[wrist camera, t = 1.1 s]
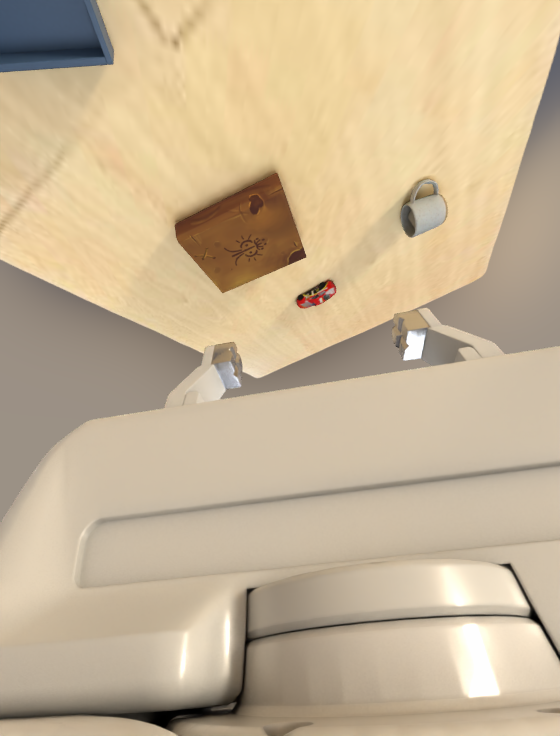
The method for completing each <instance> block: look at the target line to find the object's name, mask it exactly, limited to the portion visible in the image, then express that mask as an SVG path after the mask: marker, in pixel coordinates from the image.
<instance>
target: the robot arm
mask: <svg viewBox="0 0 560 736" xmlns="http://www.w3.org/2000/svg"><path fill="white" fill-rule="evenodd" d="M393 322H394V323H395V326H394V327H393V329H392V338H393V342H394V344H395V346H396V347H398V348H399V353H400V355H401V357H402V359H403V360H411V359H419V358H421V359H422V360H424V361H425V362H427V363H429V364H430V365H432V366H430V367H424V368H418V369H411V370H405V371H399V372H393V373H386V374H380V375H373V376H367V377H361V378H354V379H348V380H343V381H335V382H330V383H323V384H317V385H311V386H304V387H298V388H292V389H285V390H279V391H273V392H266V393H259V394H253V395H247V396H241V397H235V398H228V399H221V400H219V399H220V398H221V396H222V394H223V393H224V392H225V390H226V389H231V388H236V387H241V380H242V377H241V372H242V361H241V357H240V355H239V354H238V353H237V346H236V344H235V343H234V342H230V343H224V344H217V345H211V346H207V347H205V351H204V355H203V359H202V363H201V366H200V367H198V368H196V369H195V370H194V371H193V372H192V373H191V374H190V375H189V376H188V377H187V378H186V379H185V380H184V381H183V382H181V384H180V385H178V386H177V387H176V388H175V389H174V390H173V391H172V392H171V393H170V394H169V395H168V397H167V401H166V403H165V407H164V409H159V410H152V411H146V412H140V413H133V414H127V415H121V416H114V417H107V418H99V419H94V420H90V421H87V422H85V423H84V424H82V425H81V426H80V427H78V428H76V429H75V430H74V431H72V432H71V433H70V434H69V435H67V436H66V437H64V438H63V439H62V440H61V441H59V442H58V443H57V444H55V445H54V446H53V447H52V448H51V449H50V450H49V451H48V452H47V454H46V455H45V456H44V458H43V459H42V460H41V462H40V463H39V465H38V466H37V467H36V469H35V470H34V472H33V473H32V475H31V476H30V478H29V479H28V480H27V482H26V484H25V485H24V487H23V488H22V490H21V491H20V493H19V494H18V496H17V498H16V499H15V501H14V502H13V504H12V505H11V507H10V508H9V510H8V511H7V513H6V515H5V516H4V518H3V520H2V521H1V523H0V736H560V346H557V347H551V348H545V349H538V350H532V351H526V352H519V353H513V354H507V355H505V354H504V353H503V352H502V351H501V350H500V349H499V348H498V347H497V346H496V344H495V343H494V342H491V341H488V340H486V339H483V338H480V337H477V336H475V335H472V334H469V333H466V332H464V331H461V330H458V329H455V328H452V327H450V326H447V325H442V324H441V323H440V322H439V321H438V320H437V319H436V317H435V316H434V315H433V314H432V313H431V311H430V310H429V309H428V308H422V309H418V310H413V311H408V312H403V313H397V314H395V315H394V318H393Z"/></svg>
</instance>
